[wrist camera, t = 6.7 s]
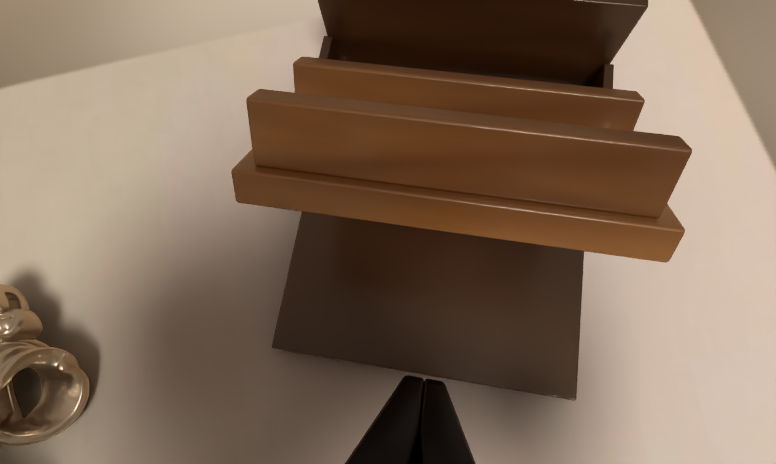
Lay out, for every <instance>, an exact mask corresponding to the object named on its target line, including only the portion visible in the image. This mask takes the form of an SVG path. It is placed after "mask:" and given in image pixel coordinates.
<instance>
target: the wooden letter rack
mask: <svg viewBox="0 0 776 464" xmlns="http://www.w3.org/2000/svg"><path fill="white" fill-rule="evenodd" d="M293 70H294V86H295V93H291V92H282V91H273V90H264V89H259V90H257V91H255V92H254V93H253V94H251V95H250V96H249V97H248V98H247V100H246V102H247V110H248V118H249V126H250V133H251V141H252V150H251V151H250V152H249V153H248V154H247V155H246V156H245V157H244V158H243V159H242V160H241V161H240V162H239V163H238V164H237V165H236V166H235V167H234V168H233V169H232V179H233V185H234V191H235V197H236V201H237V202H238V203H245V204H252V205H259V206H266V207H274V208H281V209H288V210H295V211H302V212H309V213H316V214H324V215H331V216H338V217H345V218H352V219H359V220H366V221H373V222H381V223H388V224H395V225H402V226H409V227H416V228H423V229H430V230H438V231H445V232H452V233H459V234H466V235H473V236H480V237H488V238H495V239H502V240H509V241H516V242H523V243H530V244H537V245H545V246H552V247H559V248H566V249H573V250H580V251H587V252H594V253H602V254H609V255H616V256H623V257H630V258H637V259H644V260H652V261H659V262H668V261H669V260H670V259H671V257H672V255H673V253H674V251H675V249H676V247H677V246H678V244H679V242H680V240H681V238H682V236H683V235H684V231H685V230H684V228H683V226H682V225H681V223H680V222H679V220H678V219H677V217H676V216H675V215H674V213H673V212H672V210H671V209H670V207H669V206H668V204H667V202H668V200H669V198H670V196H671V194H672V192H673V190H674V188H675V186H676V184H677V182H678V179H679V177H680V175H681V173H682V171H683V169H684V167H685V165H686V163H687V161H688V159H689V157H690V155H691V153H692V149H691V148H690V147H689V146H688V145H687V144H686V143H685V141H684V140H683V139H682V138H680V137H679V136H672V135H663V134H654V133H645V132H636V131H633V130H634V127H635V125H636V122H637V120H638V117H639V115H640V112H641V110H642V107H643V104H644V99H643V98H642V96H641V95H640V94H639V93H638V92H636V91H627V90H617V89H608V88H598V87H589V86H579V85H570V84H560V83H550V82H541V81H531V80H522V79H512V78H502V77H493V76H483V75H474V74H464V73H455V72H445V71H435V70H426V69H416V68H407V67H397V66H387V65H378V64H368V63H359V62H349V61H340V60H330V59H320V58H311V57H300V58H299V59H298V60H296V61H295V62H294V64H293Z"/></svg>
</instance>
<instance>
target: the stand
mask: <svg viewBox="0 0 776 464" xmlns="http://www.w3.org/2000/svg"><path fill="white" fill-rule="evenodd" d="M318 3H319V6H320V10H321V14H322V17H323V21H324V25H325V28H326V32H327V36H324V39H323V43H322V47H321V51H320V56H319V58H320V59H330V60H340V61H349V62H359V63H368V64H378V65H387V66H397V67H407V68H416V69H426V70H435V71H445V72H455V73H464V74H474V75H483V76H493V77H502V78H512V79H522V80H531V81H541V82H550V83H560V84H570V85H579V86H589V87H598V88H608V89H613V68H614V65H612V64H610V63H611V61H612V60H613V58H614V57H615V55H616V54H617V52H618V51H619V49H620V48H621V46H622V45H623V43H624V42H625V40H626V39H627V37H628V36H629V34H630V33H631V31H632V30H633V28H634V27H635V25H636V24H637V22H638V21H639V19H640V18H641V16H642V15H643V13H644V12H645V10H646V9H647V7H648V0H318ZM583 259H584V251H580V250H573V249H566V248H559V247H552V246H545V245H537V244H530V243H523V242H516V241H509V240H502V239H495V238H488V237H480V236H473V235H466V234H459V233H452V232H445V231H438V230H430V229H423V228H416V227H409V226H402V225H395V224H388V223H381V222H373V221H366V220H359V219H352V218H345V217H338V216H331V215H324V214H316V213H309V212H302V213H301V218H300V222H299V227H298V231H297V236H296V240H295V245H294V249H293V254H292V258H291V263H290V267H289V272H288V276H287V281H286V285H285V290H284V294H283V299H282V303H281V308H280V312H279V317H278V321H277V326H276V330H275V335H274V339H273V344H272V348H274V349H279V350H285V351H291V352H297V353H302V354H308V355H314V356H320V357H325V358H331V359H337V360H343V361H349V362H354V363H360V364H366V365H372V366H377V367H383V368H389V369H395V370H401V371H406V372H412V373H418V374H424V375H429V376H435V377H441V378H447V379H453V380H458V381H464V382H470V383H476V384H481V385H487V386H493V387H499V388H505V389H510V390H516V391H522V392H528V393H533V394H539V395H545V396H551V397H557V398H562V399H568V400H576V393H577V374H578V355H579V336H580V317H581V298H582V278H583Z"/></svg>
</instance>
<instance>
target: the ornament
mask: <svg viewBox="0 0 776 464" xmlns="http://www.w3.org/2000/svg"><path fill="white" fill-rule="evenodd" d="M41 332H42V323H41V320H40V319H39V317H38V316H37V315H36V314H35V313H34V312H32V311H30V310H29V305H28V302H27V300H26V298H25V297H24V296H23V294H22V293H21V292H20V291H19V290H18V289H17V288H15V287H11V286H7V285H1V284H0V448H1V447H3V446H4V445H11V446H20V445H29V444H34V443H38V442H41V441H45V440H47V439H50V438H52V437H54V436H56V435H58V434H59V433H61V432H62V431H64V430H65V429H67V428H68V427H69V426H70V425H71V424H72V423H73V422H74V421H75V420H76V419H77V418H78V416H79V415H80V414H81V412H82V411H83V409H84V407H85V405H86V403H87V400H88V397H89V390H90V384H89V379H88V377H87V375H86V374H85V372H84V371H83V370H82V369H80V367H79V363H78V361H77V359H76V358H75V357H74V356H73V355H72V354H71V353H69V352H68V351H65V350H63V349H60V348H55V347H50V346H48V345H47V344H45V343H43V342H40V341H38V340H35V339H34V338H36V337H38V336H39V335H40V334H41ZM26 367H30V368H33V369H34V370H35V371H36V372H37V374H38V375H39V377H40V380H41V385H42V392H41V398H40V401H39V402H38V404H37V405H36V406H35V408H34V409H33V410H32V411H31V412H30V413H29V414H28V415H27V416H26V417H25V418H24V419H23V416H22V412H21V410H20V407H19V405H18V402H17V399H16V396H15V393H14V387H13V382H12V378H13V377H14V375H15V374H16V373H17V372H19V371H20V370H21V369H24V368H26Z"/></svg>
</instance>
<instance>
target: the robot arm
mask: <svg viewBox="0 0 776 464" xmlns="http://www.w3.org/2000/svg"><path fill="white" fill-rule="evenodd" d="M345 464H475V461H474V458H473V456H472V453H471V451H470V448H469V445H468V443H467V440H466V438H465V435H464V432H463V430H462V427H461V425H460V422H459V419H458V417H457V414H456V412H455V409H454V406H453V404H452V401H451V399H450V396H449V393H448V391H447V388H446V386H445V384H444V383H443V382H442V381H438V380H432V379H426V380H425V381H424V380H423V379H422V378H420V377H415V376H409V375H406V376H405V377H404V378H403V379H402V380H401V382H400V383H399V385H398V386H397V388H396V389H395V391H394V392H393V393H392V395H391V396H390V398H389V399H388V401H387V402H386V404H385V405H384V407H383V408H382V410H381V411H380V413H379V414H378V416H377V417H376V419H375V420H374V421H373V423H372V424H371V426H370V427H369V429H368V430H367V432H366V433H365V435H364V436H363V438H362V439H361V441H360V442H359V444H358V445H357V446H356V448H355V449H354V451H353V452H352V454H351V455H350V457H349V458H348V460H347V461H346V463H345Z"/></svg>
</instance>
